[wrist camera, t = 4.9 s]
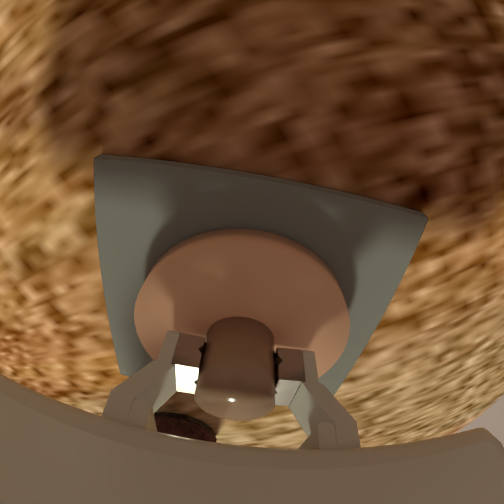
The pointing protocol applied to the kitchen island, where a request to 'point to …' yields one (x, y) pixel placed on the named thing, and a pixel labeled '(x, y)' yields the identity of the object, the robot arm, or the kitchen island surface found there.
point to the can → (183, 427)
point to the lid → (243, 313)
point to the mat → (247, 217)
